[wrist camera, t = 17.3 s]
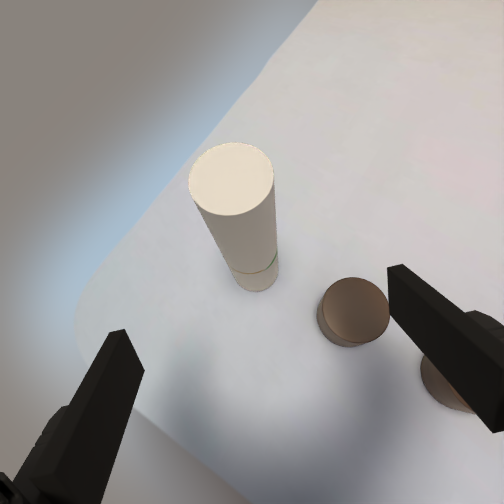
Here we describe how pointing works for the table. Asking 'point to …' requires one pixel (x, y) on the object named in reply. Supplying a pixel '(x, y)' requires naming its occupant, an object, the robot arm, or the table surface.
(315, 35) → the table surface
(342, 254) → the table surface
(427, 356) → the robot arm
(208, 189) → the tube
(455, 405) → the brown short cylinder
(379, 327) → the disc
